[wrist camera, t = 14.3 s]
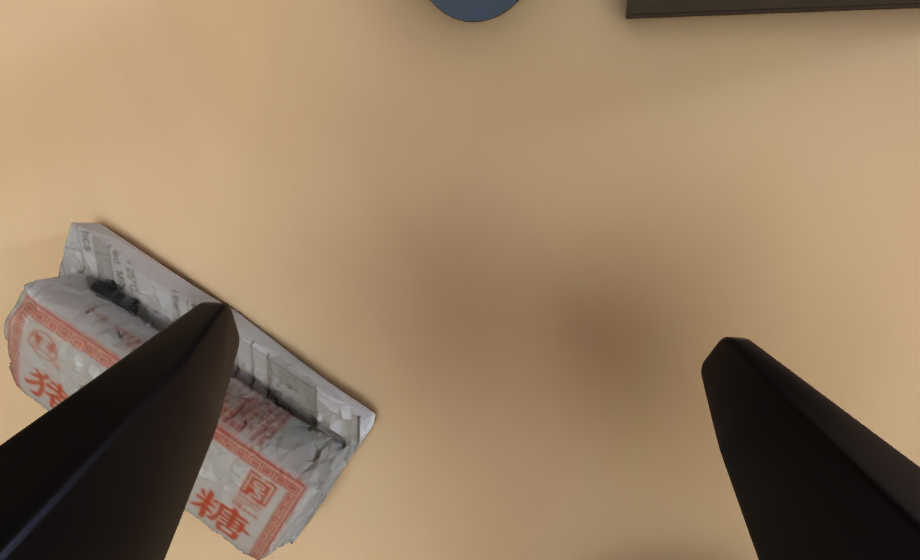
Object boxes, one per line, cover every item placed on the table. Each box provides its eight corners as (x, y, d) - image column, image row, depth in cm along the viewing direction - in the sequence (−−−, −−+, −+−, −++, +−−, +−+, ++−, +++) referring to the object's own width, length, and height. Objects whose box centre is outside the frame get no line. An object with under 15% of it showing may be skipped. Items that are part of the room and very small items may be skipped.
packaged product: (342, 471, 19) (252, 606, 22) (384, 409, 23) (304, 528, 26) (-9, 229, 19) (-48, 396, 22) (100, 215, 24) (55, 355, 27)
